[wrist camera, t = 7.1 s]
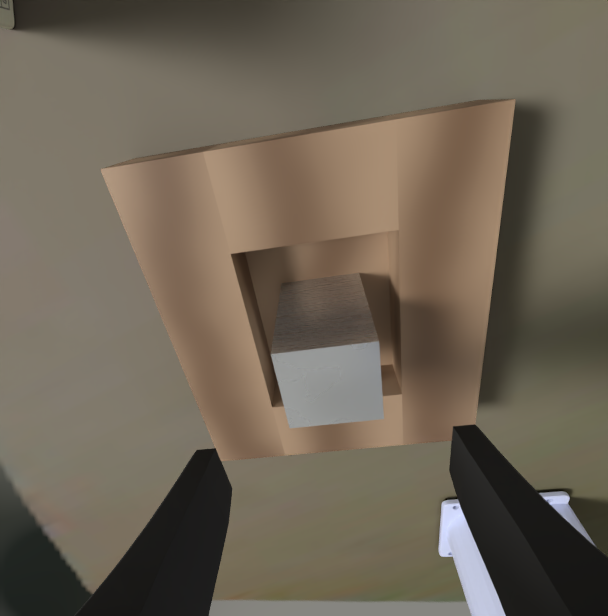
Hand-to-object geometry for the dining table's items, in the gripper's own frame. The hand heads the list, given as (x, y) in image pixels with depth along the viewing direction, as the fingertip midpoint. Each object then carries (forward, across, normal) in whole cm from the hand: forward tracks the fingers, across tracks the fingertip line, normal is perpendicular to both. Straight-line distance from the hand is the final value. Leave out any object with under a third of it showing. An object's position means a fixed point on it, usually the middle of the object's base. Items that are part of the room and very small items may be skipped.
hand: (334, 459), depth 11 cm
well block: (+10, 0, 0) cm, 10 cm away
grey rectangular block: (+9, 0, 0) cm, 9 cm away
